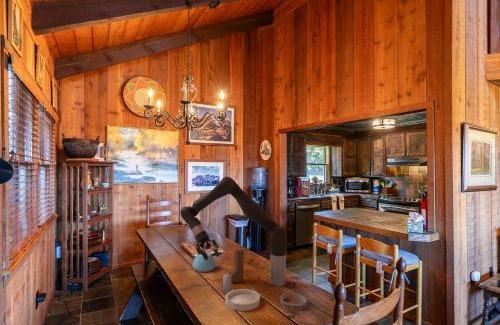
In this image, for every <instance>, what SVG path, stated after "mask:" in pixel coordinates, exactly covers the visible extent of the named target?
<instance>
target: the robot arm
mask: <svg viewBox="0 0 500 325" xmlns="http://www.w3.org/2000/svg"><path fill="white" fill-rule="evenodd" d="M227 195H231V196H232V197H233V198H234V199H235V200H236V203H237V204H238V206H239V208H240V209H241V211H242V212H243V213H244V214H245V216H247V217H248V218H249V219H250V220H251V221H253V222H254V223H256V224H257V225H259V227H262V228H263V229H264V230H265V232H266V233H267V234H268V235H269V237H270V250H269V284H270V285H271V286H274V287H283V286H286V283H287V266H286V264H287V263H286V262H287V258H286V257H287V254H286V253H287V248H288V246H287V245H288V243H287V242H288V234H287V232H286V230H285V228H284V227H283V226H281V225H280V224H278V223H277V222H276V221H275V220H274V219H272V218H271V217H270V216H269V215H268V213H267V212H266V211H265V210H264V209H263V208H262V207H261V206H260V205H259V204H258V203H257V202H256V201H255V200H254V199H252V197H250V196H249V195H248V194H247V192H245V191H244V190H243V188H241V186H239V185H238V183H237V182H236V181H235V180H234V179H233V178H232V177H230V176H225V177H223V178H221V179H220V180H219V181H218V183H217V185H215V187H213V188H212V189H211V190H210V191H209V192H207V193H205V194H203V195H202V196H200V197H199V198H197V199H196V200H194V201H193V203H192V204H191V206H183V207H181V208H180V211H179V214H180V217H181V218H182V220H183V221H184V222H185V223H186V224H187V225H188V227H189V229H190V231H191V234H192V235H193V237H194V239H195V241H196V244H195V245H194V248H195V250H196V252H197V255H198V254H199V255H200V254H201V255H202V256H203V258H204V259H205V260H208V256H207V254H206V253H205V251H208V250H210V251H212V252H213V253H214V255H215V257H216V258H217V257H219V256H220V253H219V250H218V249H219V248H220V247H219V245H218V243H217V242H216V239H214V238H213V239H212V240H210V236H209V234H208V233H207V231H206V229H205V228H204V226H203V224H202V222H201V220H200V219H199V218H198V217H197V216H198V215H199V213H201V211H202V210H205V208H207V207H208V206H209V205H211V204H212V203H214V202H215V201H217V200H219V199H220V198H223V197H225V196H227Z"/></svg>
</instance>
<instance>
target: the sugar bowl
mask: <svg viewBox="0 0 500 325" xmlns="http://www.w3.org/2000/svg"><path fill="white" fill-rule="evenodd" d="M205 253H206V254H207V256H208V260H205V259H204V258H203V256H202V255H201V254H200V255H199V254H198V253H197V254H196V256H195V257H194V259H193V261H192V268H193V270H194V271H196V272H199V273H208V272H211V271H213V270H214V269H215V268H216V261H215V260H216V259H215V258H214V256H213V254H212V253H210V252H208V250H205Z"/></svg>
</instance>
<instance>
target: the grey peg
mask: <svg viewBox="0 0 500 325" xmlns="http://www.w3.org/2000/svg"><path fill="white" fill-rule="evenodd" d="M222 280H223V281H222V285H223V286H222V293H223V294H225V295H227V293H228V292H230V291H232V283H231V274H227V273H226V274H223V277H222Z"/></svg>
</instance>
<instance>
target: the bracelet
mask: <svg viewBox="0 0 500 325" xmlns="http://www.w3.org/2000/svg"><path fill="white" fill-rule="evenodd" d="M296 298H297V299H296ZM287 299H288V293H283V294H282V295H280V299H279V300H280V302H279V303H280V306H282V307H283V306H284V307H285V308H284V307H283V308H284V309H286V308H287V310H290V309H291V310H290V311H302V309H303V310H305V309H307V307H308V299H307V297H306V296H304V295H302V294H300V293H297V292H295V293H294V299H296V300H300V301H302V303H300V304H293V303H289V302H286V301H284V300H287ZM304 302H305V303H304Z"/></svg>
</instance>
